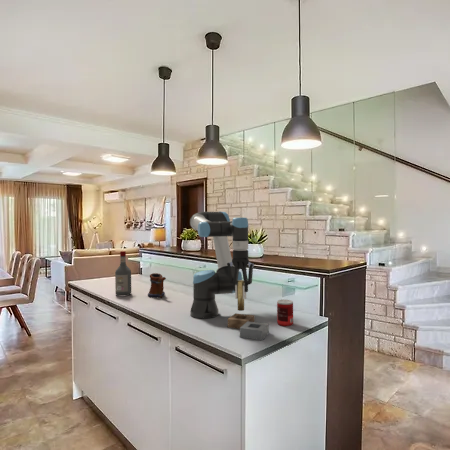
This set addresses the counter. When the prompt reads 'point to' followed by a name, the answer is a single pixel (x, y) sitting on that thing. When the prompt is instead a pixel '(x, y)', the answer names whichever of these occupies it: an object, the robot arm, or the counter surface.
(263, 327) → the socket block
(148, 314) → the counter surface
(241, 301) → the lock pin
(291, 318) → the canned food
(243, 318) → the block
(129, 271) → the liquor
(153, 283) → the mug
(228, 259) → the robot arm
